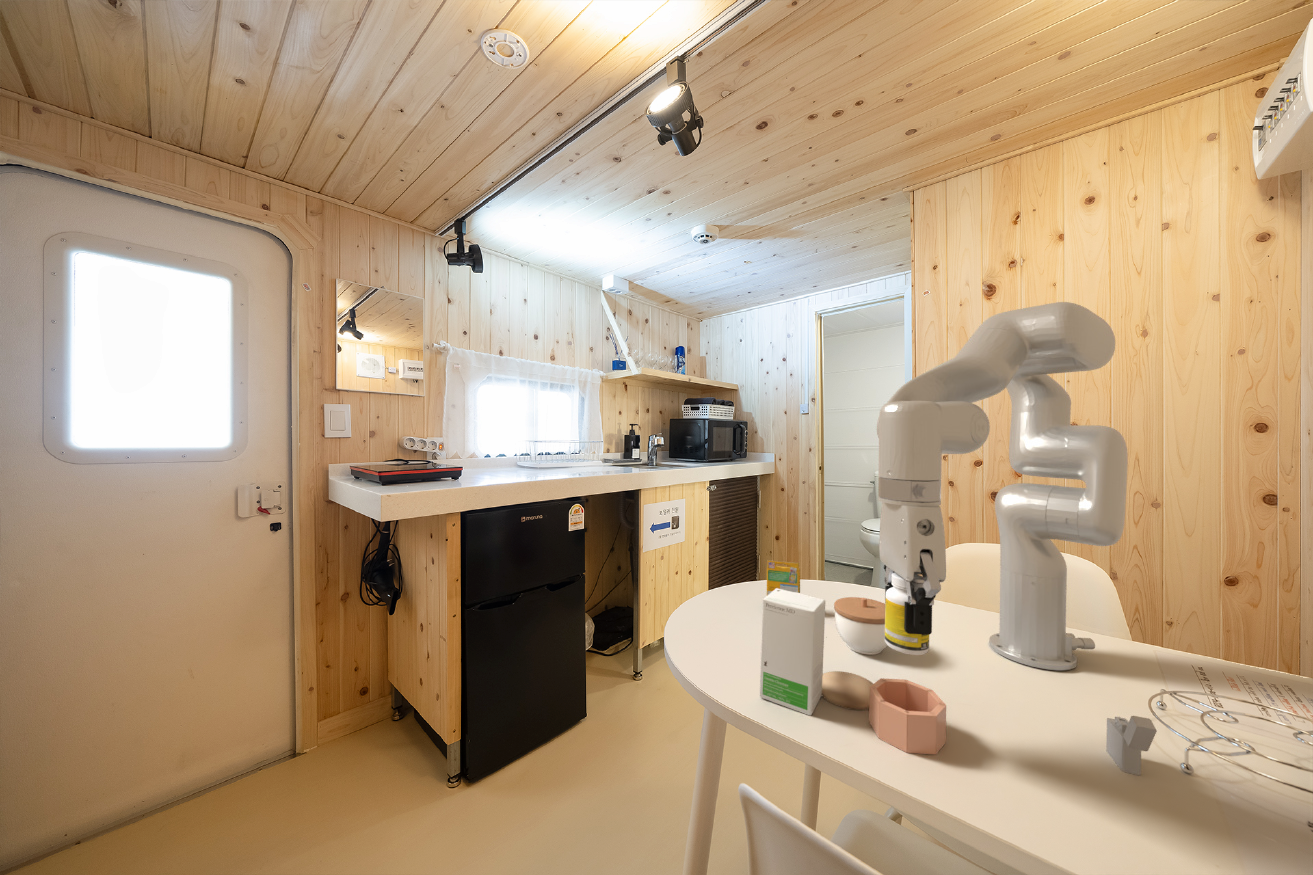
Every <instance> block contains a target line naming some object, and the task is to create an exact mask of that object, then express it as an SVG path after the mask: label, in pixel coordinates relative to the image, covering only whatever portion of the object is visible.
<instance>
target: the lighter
mask: <svg viewBox="0 0 1313 875" xmlns="http://www.w3.org/2000/svg"><path fill="white" fill-rule="evenodd" d="M1157 731H1158V730H1157V729H1156V727H1155V724H1154V723H1153V722H1152V720H1151V719H1150V718H1149V717H1148V718H1147V717H1142V716H1138V715H1131V716H1130V718H1129V720H1128V719H1127V718H1124V717H1121V716H1114V718H1111V717H1110V718H1109V717H1107V718H1106V748H1105V749H1106V752H1107V754H1108V755H1109V757H1111V759H1112V760H1113V761H1114V763H1115V764H1116V765H1117V767H1118V768H1119V769H1120V771H1121V772H1124V773H1125V774H1126V773H1127V774H1131V775H1136V776H1138V777H1139V776H1141V772H1142V770H1141V769H1142V765H1141V764H1142V752H1148V751H1149V750H1150V747H1151V745H1152V743H1153V741H1154V739H1155V736H1156V735H1157Z"/></svg>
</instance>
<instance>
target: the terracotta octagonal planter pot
mask: <svg viewBox="0 0 1313 875" xmlns="http://www.w3.org/2000/svg"><path fill="white" fill-rule="evenodd" d="M868 710H869V711H868V713H869V714H868V715H869V716H868V717H869V718H868V722H869V724H870V725H871V727H872V729H873V731H874V733H875V734H876V736H877V737H878V739H880V741H883V742H885V743H887V744H889V745H891V746H893V747H895V748H896V749H899V750H901V751H902V752H905V753H906V754H921V755H923V754H924V755H934V756H935V755H937V754H938V753H939V751H940V750H941V749H942V748H943V746H944V745H945V744H946V743H947V704H946V703H945V702H944V701H943V700H942V698H941V697H940V696H939V695H938V694H937V693H936V692H935V691H934V690H933V689H931V688H928V687H926V686H924V685H920V684H918V683H916V682H914V681H911V680H908V679H903V678H902V679H900V678H884V677H883V678H881V677H880V678H879V679H878V680H876V681H875V682H874V683H873V685H871V686H870V688H869V709H868Z"/></svg>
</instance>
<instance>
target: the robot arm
mask: <svg viewBox="0 0 1313 875" xmlns="http://www.w3.org/2000/svg"><path fill="white" fill-rule="evenodd" d="M1115 351H1116V338H1115V333H1114V330H1113V329H1112V327H1111V326H1110V325H1109V323H1108V321H1106V320H1105V319H1103V318H1102V317H1100V316H1099V315H1097V314H1096V313H1094V312H1093V311H1092V310H1090V309H1088V308H1086V307H1085V306H1082V304H1081V305H1080V304H1077V303H1075V302H1071V301H1070V302H1069V301H1058V302H1051V303H1045V304H1041V305H1035V306H1029V307H1025V308H1023V307H1022V308H1017V309H1012V310H1008V311H1003V312H1000V313H997V314H993V315H991V316H990V317H988V318H987V319H985V320H984V321H982V323H981V324H980V325H979V326H978V328H977V329H976V330H975V331H974V333H973V334H972V335H971V336H970V337H969V338H968V340H967V342H965V344H963V346H962V347H961V349H960V350H959V351H958V353H957V354H956V355H955V356H954V357H953V358H951V359H948V360H946V361H944V362H943V363H941V364H939V365H936V366H935V367H933V368H931V369H928V371H925V372H923V373H921V374H919V375H917V376H915V377H914V378H912V379H910V380H909V381H907V382H906V383H905V384H902V386H901V387H899V389H897V390H896V391H895V393H894V394H893V395H892V396H891V397H890V399H889V400H888V401H887V403H885V404H883V405H882V406H881V408H880V409H879V416H878V419H877V423H876V435H877V437H878V492H877V493H878V495H877V497H878V498H877V501H878V502H881V510H880V521H879V538H878V542H879V544H878V545H879V546H878V547H879V559H880V561H881V562H882V564H883V569H884V572H885V574H884V584H885V586H884V587H885V589H884V590H885V591H884V592H885V593H884V603H885V602H886V591H887V590H888V589H889V588H892V587H893V585H892V573H897V574H898V575H900V576H901V577H902V578H904V579H905V581H906V589H907V597H908V602H905V614H904V630H905V631H906V632H907V633H908V634H926V635H929V636H930V635H931V634H932V632H933V629H932V628H933V606H934V605H935V598H936V597H937V595H938V593H940V592H941V590H942V585H941V583H944V582H945V581H946V578H947V554H946V553H947V552H946V550H947V549H946V537H945V536H946V535H945V527H944V526H945V525H944V520H943V519H944V518H943V513H942V509H941V504H942V460H943V459H942V457H943V456H942V455H965V454H969V453H972V452H974V451H977V450H978V449H980V448H981V447H982V446H983V445H984V444H985V442H986V441H987V440H988V437H989V435H990V432H991V431H990V430H991V425H990V420H989V417H988V415H987V413H986V412H985V411H984V409H983V408H981V407H980V406H978V405H977V404H975V403H977V402H979V401H982V400H984V399H988V398H990V397H993V396H995V395H998V394H1000V393H1001V392H1003V391H1004V390H1005V389H1006V390H1007V393H1008V395H1009V397H1010V403H1011V414H1010V415H1011V418H1010V428H1009V429H1010V430H1009V431H1010V432H1009V443H1008V444H1009V445H1008V459H1009V466H1010V467H1011V468H1012V469H1013V470H1014V471H1015V472H1016V473H1018V474H1021V475H1024V476H1029V477H1030V476H1032V477H1038V478H1051V479H1064V480H1065V479H1066V480H1078V481H1079V480H1080V481H1082V482H1084V483H1085V486H1086V487H1076V486H1075V487H1073V486H1064V485H1063V486H1062V485H1057V484H1056V485H1054V484H1042V483H1026V482H1022V483H1012V484H1008V485H1006V486H1004V487H1002V488H1001V489H999V491H998V492H997V494H996V496H995V499H994V512H995V517H996V520H997V521H996V522H997V526H998V533H999V534H998V535H999V545H1000V548H999V550H1000V553H999V554H1000V559H999V561H1000V563H999V566H1000V569H999V572H1000V573H999V577H1000V578H999V580H1000V581H999V584H1000V585H999V632H998V633H994V634H992V635H990V636H989V638H988V640H989V642H988V644H989V647H991V649H992V650H993V651H994V652H995V653H997V654H998V655H1000V656H1002V657H1005V659H1006V658H1007V659H1009V660H1011V661H1013V662H1016V663H1019V664H1021V665H1026V666H1029V667H1033V668H1037V669H1041V670H1042V669H1043V670H1047V671H1049V670H1050V671H1069V670H1072V669H1074V668H1075V669H1076V667H1077V665H1078V658H1077V656H1076V655H1075V653H1073V651H1076V650H1077V649H1081V650H1095V648H1096V644H1095V641H1094V640H1093V639H1092V638H1090V637H1076V636H1075V635H1074V634H1073V633H1071V632H1067V630H1066V629H1067V627H1066V626H1067V582H1068V581H1067V576H1068V574H1067V573H1068V570H1067V569H1068V567H1067V562H1066V560H1065V557H1064V555H1063V554H1062V553H1061V551H1060V549H1059V548H1058V547H1057V546H1056V544H1055V543H1054V541H1052V540H1058V541H1065V542H1070V543H1075V544H1083V545H1089V546H1096V547H1097V546H1098V547H1109V546H1113V545H1116V544H1117V543H1118V542H1119V541H1120V539H1121V538H1122V536H1123V533H1124V528H1125V521H1126V504H1127V486H1128V485H1127V484H1128V466H1129V461H1128V456H1129V454H1128V453H1129V452H1128V447H1127V443H1126V440H1125V438H1124V436H1123V434H1122V433H1121V432H1120V431H1119V430H1117V429H1115V428H1113V427H1111V426H1106V425H1095V424H1093V425H1091V424H1090V425H1086V424H1085V425H1083V424H1082V425H1080V424H1079V425H1078V424H1077V425H1072V424H1071V415H1072V414H1071V408H1072V407H1071V406H1072V398H1071V396H1070V395H1069V393H1068V392H1067V390H1066V389H1064V387H1063V386H1062V385H1061V384H1060V383H1058V382H1057V381H1056V380H1055V379H1053V377H1051V376H1050V375H1052V374H1053V375H1054V374H1063V373H1076V372H1088V371H1096V370H1098V369H1101V368H1103V367H1104V366H1106V365H1108V364H1109V363H1110V361H1111V360H1112V358H1113V356H1114V353H1115ZM914 574H917V575H920V576H922V577H923V579H915V577H914ZM914 584H923V587H922V588H920V587H919V588H918V589H917V591H916V592H915V589H914Z"/></svg>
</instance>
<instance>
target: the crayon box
mask: <svg viewBox="0 0 1313 875" xmlns="http://www.w3.org/2000/svg"><path fill="white" fill-rule="evenodd" d="M782 564H783V565H785V566H779V565H782ZM776 588H778V589H782V590H786V591H790V592H797V593H801V568H800V563H798V562H789V561H781V560H780V561H779V560H778V561H777V560H772V559H771V560H768V559H767V560H766V596H768V595H769V594H770V593H771V592H772V591H773V590H775V589H776Z"/></svg>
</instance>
